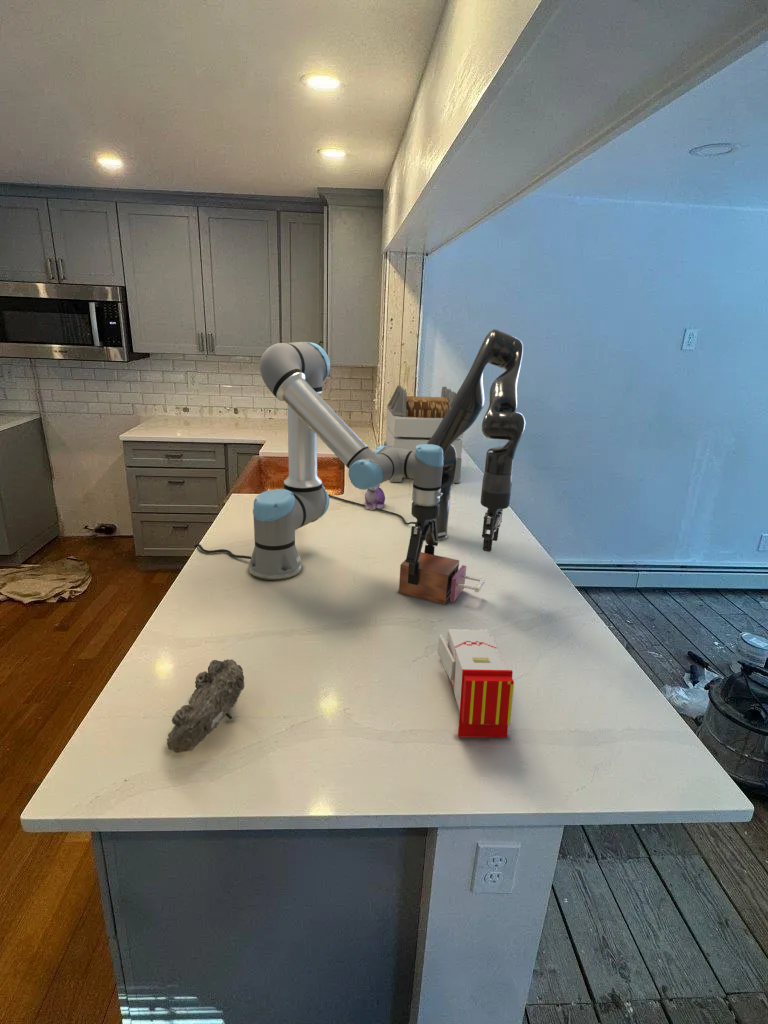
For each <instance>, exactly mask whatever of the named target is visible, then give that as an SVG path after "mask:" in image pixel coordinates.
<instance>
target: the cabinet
mask: <svg viewBox="0 0 768 1024" xmlns="http://www.w3.org/2000/svg"><path fill="white" fill-rule="evenodd" d="M418 562H419V576H418V585H414V584H410V583H408V571H409V563H406V559H404V560H403V561H402V562H401V563H400V565H399V581H398V593H399V594H403V595H406V596H410V597H415V598H419V599H423V600H425V601H430V602H435V603H439V604H441V605H442V604H443V605H446V603H447V602H448V601H449V600H450V595H451V591H450V593H449V594H448V595H447V586H448V577H449V575H450V574H451V573H452V572H453V570H454V569H455V568H456V573H457V571H458V570H459V569H460V560H459V559H455V558H450V557H446V556H441V555H436V554H434V555H432V554H428V553H425V552H422V551H421V553H420V557H419V560H418Z"/></svg>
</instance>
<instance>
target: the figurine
mask: <svg viewBox="0 0 768 1024" xmlns="http://www.w3.org/2000/svg"><path fill="white" fill-rule="evenodd" d="M380 486H381V484H379V485H377V486H376V487H373V488H369V489H366V492H365V494H364V503H363V504H364V505H366V507H365V506H364V507H365V509H366V510H372V511H373V510H376V509H375V508H379V509H382V508H384V507H385V502H386V495H385V493H384V490H383V489H382V488H381V487H380Z"/></svg>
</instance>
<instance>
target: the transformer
mask: <svg viewBox="0 0 768 1024" xmlns="http://www.w3.org/2000/svg"><path fill="white" fill-rule="evenodd" d="M440 393H441V394H440V396H415V395H414V396H413V395H412V396H411V395H407V394H408V393H407V390H406V389H404V388H403V387H402V385H399V384H398V385H397V386H396V388H395V390H394V392H393V394H392V395H391V398H390V400H389V402H388V404H387V405H386V413H385V414H386V415H385V423H386V428H385V438H384V442H383V446H392V447H395V448H401V449H406V450H412V451H415V448H416V446H417V445H420V444H427V443H428V441H429V440H430V439H431V437H432V436H433V434H434V433H435V431H436V430H437V428H438V426H439V425H440V423H441V421H442V419H443V418H444V416H445V414H446V412H447V411H448V409H449V406H450V405H451V403H452V401H453V399H454V397H455V395H456V394H457V392H455V391H453V390H452V389H451V388H447V386H442V387H441V392H440ZM463 438H464V433H463V434H462V435H460V436H459V437H458V438H457V439H456V440H455V441H454V442H453V443H452V445H453V446H454V448H455V450H456V455H457V462H456V470H455V477H454V482H453V484H455V483H456V484H459V483H461V472H462V461H463V460H462V453H463V442H464V441H463V440H462V439H463ZM389 480H390V482H391V483H402V482H403V477H399V476H396V477H394V478H391V479H389Z"/></svg>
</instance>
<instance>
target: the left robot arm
mask: <svg viewBox="0 0 768 1024" xmlns="http://www.w3.org/2000/svg"><path fill="white" fill-rule="evenodd" d="M259 372H260V376H261V378H262V381H263V383H264V384H265V386H266V388H267V389H268V390H269V391H270V392H271V394H272V395H273V396H274V397H275V398H276V400H278V401H280V402H285V403H286V404H287V450H288V453H287V454H288V476H287V477H286V478H285V479H284V480H283V488H274V489H268V490H264V491H262V492H260V493H259V494H258V495H257V496H256V497H255V498H254V500H253V507H252V515H253V533H254V548H253V551H252V554H251V556H250V555H242V554H234V553H232V551H231V550H229V549H225V548H220V549H212V550H211V549H210V550H209V549H208V550H207V549H205V548H204V547H203V546H202V544H200V543H196V544H195V545H194V546H193V547H194V548H199V550H201V552H203V553H206V554H215V553H226V554H229V556H231V557H232V558H235V559H245V560H249V564H248V569H249V570H248V571H249V573H250V575H252V576H253V577H255V578H257V579H259V580H265V581H282V580H288V579H290V578H293V577H295V576H297V575H298V574H300V573H301V571H302V559H301V556H300V554H299V551H298V549H297V546H296V531H297V530H298V529H301V528H302V527H304V526H306V525H308V524H310V523H314V522H316V521H318V520H319V519H321V518H322V517H323V516H324V515H325V514H326V513H327V511H328V509H329V506H330V496H329V495H330V494H329V492H328V491H327V490H326V487H325V486H324V485H323V480H322V479H321V478H320V477H319V476H318V438H319V439H320V440H321V441H322V443H324V444H325V445H326V446H327V447H328V448H329V449H330V451H331V452H332V453H333V454H334V455H335V456H336V457H337V458H338V459H339V460H340V461H341V463H343V465H344V466H346V468H347V469H348V478H349V480H350V483H351V484H352V486H353V487H355V488H356V489H358V490H364V491H365V490H366V491H367V489H369V488H373V487H376V486H377V485H379V484H380V485H381V484H382V483H385V482H388V481H389V480H390V479H391V478H394V477H396V476H399V477H402V478H406V479H411V480H412V494H411V500H412V502H411V512H410V514H411V516H412V517H413V518H414V519H416V521H415V522H416V524H414V525H412V526H411V529H410V538H409V542H408V548H407V554H406V558H405V560H406V563H409V571H408V583H410V584H414V585H418V576H419V562H418V560H419V557H420V553H421V552H422V549H423V545H424V542H425V543H426V544H425V545H424V553H428V554H432V555H435V549H436V548H435V547H438V546H439V541H437V540H438V534H437V517H438V516H439V508H440V505H439V502H440V496H442V493H440V491H441V480H442V470H443V464H444V463H443V449H442V448H441V447H440V446H437V445H433V444H420V445H417V446H416V448H415V451H412V450H406V449H401V448H395V447H392V446H384V445H379V446H377V447H376V448H375V450H374V451H373V450H372V449H371V448H370V447H369V446H368V445H367V444H366V443H365V442H364V441H363V440H362V439H361V437H360V436H358V435H357V434H356V432H354V430H353V429H352V428H351V427H350V426H349V425H348V424H347V423H346V422H345V421H344V420H343V419H342V417H340V415H339V414H338V413H337V412H336V411H335V410H334V409H333V408H332V407H331V406H330V405H329V404H328V403H327V402H326V401H325V400H324V399H323V398H322V397H321V394H322V393H323V387H324V386H323V385H324V384H323V382H324V381H325V380H327V378H328V377H329V375H330V372H331V362H330V357H329V356H328V353H327V352H326V351H325V349H324V348H323V347H322V346H320V345H319V344H317V343H315V342H310V341H296V342H293V341H292V342H277V343H275V344H272V345H270V346H269V347H267V349H265V351H264V352H263V354H262V355H261V358H260V361H259ZM328 494H329V495H328ZM434 536H435V537H434Z"/></svg>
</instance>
